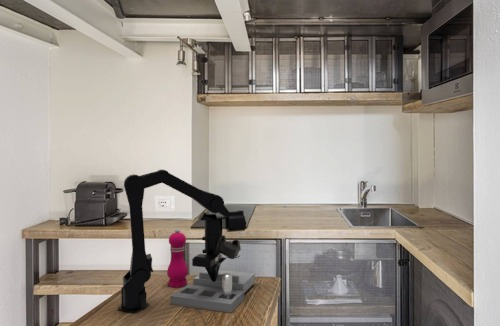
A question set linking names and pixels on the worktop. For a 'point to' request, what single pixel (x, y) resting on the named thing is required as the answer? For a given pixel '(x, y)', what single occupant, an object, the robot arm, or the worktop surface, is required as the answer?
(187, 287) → the hole board
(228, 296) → the pin
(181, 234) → the pepper mill
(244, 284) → the cover
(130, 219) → the robot arm
